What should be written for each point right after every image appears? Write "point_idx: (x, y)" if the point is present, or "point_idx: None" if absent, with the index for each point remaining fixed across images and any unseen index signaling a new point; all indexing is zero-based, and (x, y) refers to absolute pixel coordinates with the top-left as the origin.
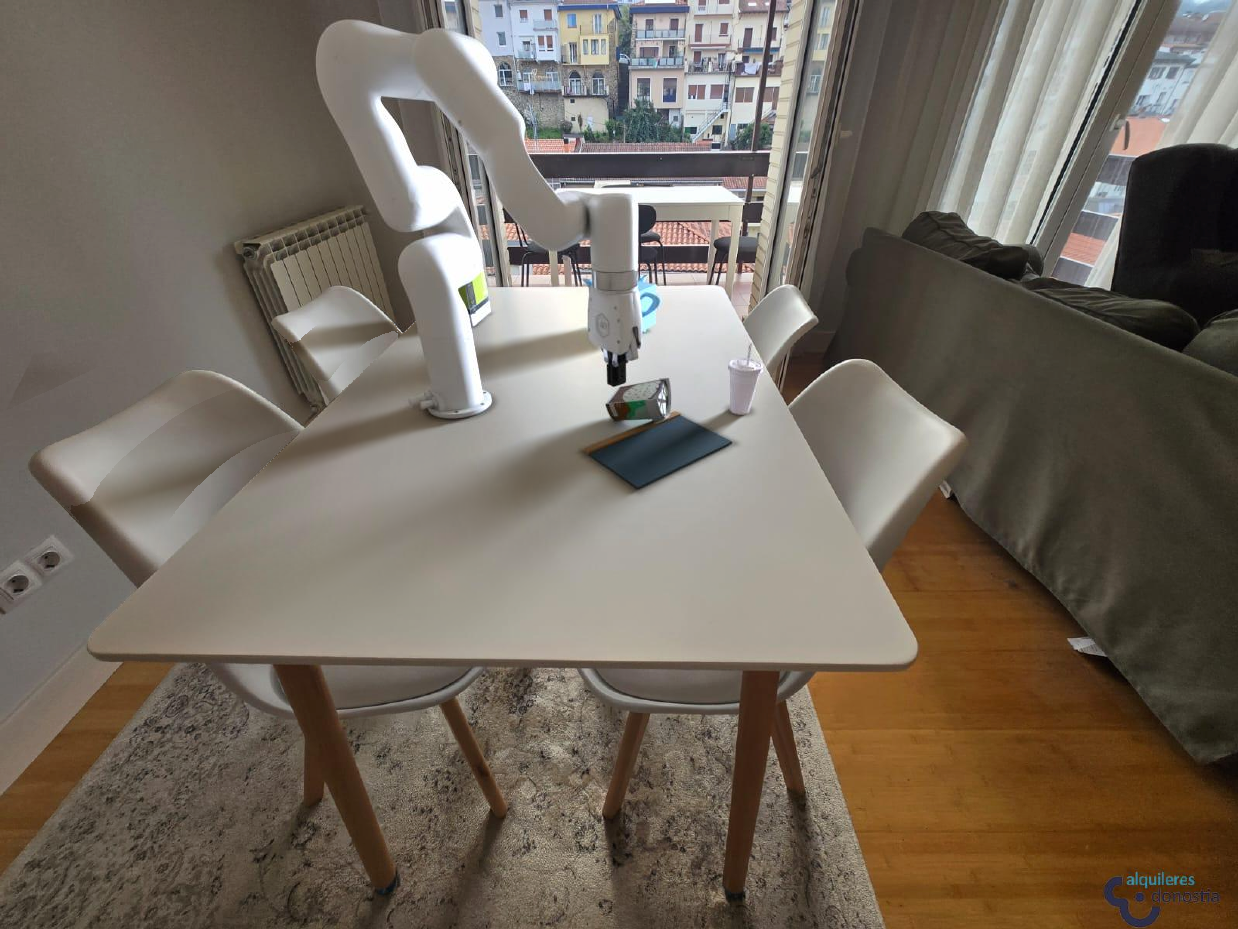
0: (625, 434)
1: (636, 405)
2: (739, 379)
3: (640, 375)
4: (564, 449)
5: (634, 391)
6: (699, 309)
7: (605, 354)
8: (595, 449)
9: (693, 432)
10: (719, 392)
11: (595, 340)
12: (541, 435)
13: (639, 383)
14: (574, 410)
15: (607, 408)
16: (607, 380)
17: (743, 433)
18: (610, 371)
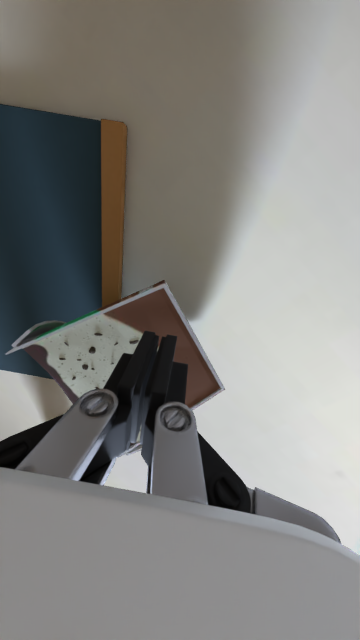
0: (107, 263)
1: (74, 319)
2: None
3: (271, 461)
4: (178, 89)
5: None
6: None
7: (176, 448)
8: (102, 149)
9: None
10: (125, 468)
11: (244, 602)
12: (298, 96)
13: None
14: (303, 284)
15: (161, 281)
16: (173, 342)
17: (5, 395)
18: (139, 366)
